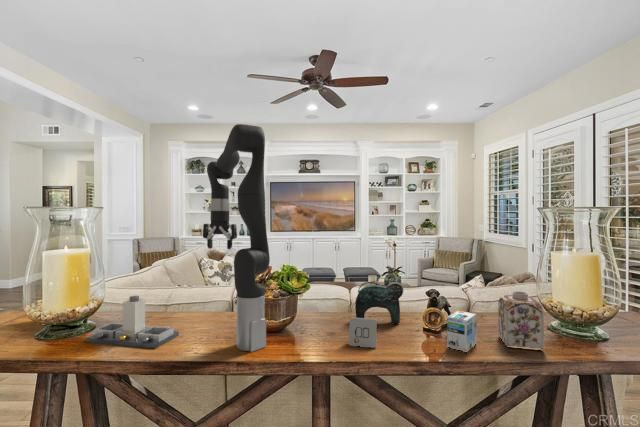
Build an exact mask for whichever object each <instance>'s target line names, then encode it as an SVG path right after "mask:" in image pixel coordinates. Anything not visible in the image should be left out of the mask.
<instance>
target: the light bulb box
mask: <svg viewBox="0 0 640 427" xmlns="http://www.w3.org/2000/svg"><path fill="white" fill-rule="evenodd" d="M477 319H478V315H477V314H476V313H472V312H467V311H463V310H457V311H455V312H453V313H452V314H449V315H447V321H446V322H447V323H446V324H447V326H446V327H447V332H446V333H447V334H446V335H447V338H446V339H447V340H446V343H447V344H446V345H447V347H450V348H454V349H459V350H464V351H468V350H469V349H470V348H472V347H473V346H474V345H475V344H476V343H477V344H478V342H477V340H478V339H477V337H478V336H477V334H478V332H477V328H478V326H477V325H478V320H477ZM447 347H446V348H447ZM473 348H474V347H473ZM473 348H472V349H473Z"/></svg>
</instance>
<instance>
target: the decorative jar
mask: <svg viewBox="0 0 640 427" xmlns="http://www.w3.org/2000/svg"><path fill="white" fill-rule="evenodd" d="M497 308H498V310H497V313H498V315H497V316H498V317H497V318H498V319H497V331H498V336H499V335H500V337H501V338H502V340H503V342H504V343H505V345H506V346H517V347H530V348H541V349H543V350H544V346H545V345H544V344H545V342H544V341H545V339H544V338H545V337H544V336H545V326H544V325H545V324H544V323H545V322H544V321H545V320H544V308H543V306H542V303H541V301H540V300H538V299H537V298H534V297H531V296H529V293H528V292H525V291H521V290H520V291H518V290H515V291H512V294H508V295H502V296H500V298H499V299H498V307H497ZM503 342H502V343H503ZM505 345H504V346H505Z"/></svg>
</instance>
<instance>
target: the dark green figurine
mask: <svg viewBox="0 0 640 427" xmlns="http://www.w3.org/2000/svg"><path fill="white" fill-rule="evenodd" d="M382 276H386V277H387V280H386V282H387V283H385V284H379V283H377V282H374V281H366V282H364V283H362V284H360V286H359V288H358V291H357V296H356V298H355V301H354V303H355V305H354V306H355V307H354V309H355V310H354V311H355V318H365V314H366V312H367V311H368V310H369V309H372V308H380V309H385V310H387V311H388V314H390V319H391V320H390V322H392V323H400V322H401V321H400V320H401V306H400V299H401V297H402V296H403V294H404V286H403V284H402V281H401V279H400V278H399V279H398V280H397V281H390V280H389V276H388V275H387V274H384V273H383V274H381V275H379V278H382ZM366 284H368V285H366ZM370 284H371V285H370ZM365 285H366V286H365ZM392 323H391V324H392ZM400 324H401V323H400Z"/></svg>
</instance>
